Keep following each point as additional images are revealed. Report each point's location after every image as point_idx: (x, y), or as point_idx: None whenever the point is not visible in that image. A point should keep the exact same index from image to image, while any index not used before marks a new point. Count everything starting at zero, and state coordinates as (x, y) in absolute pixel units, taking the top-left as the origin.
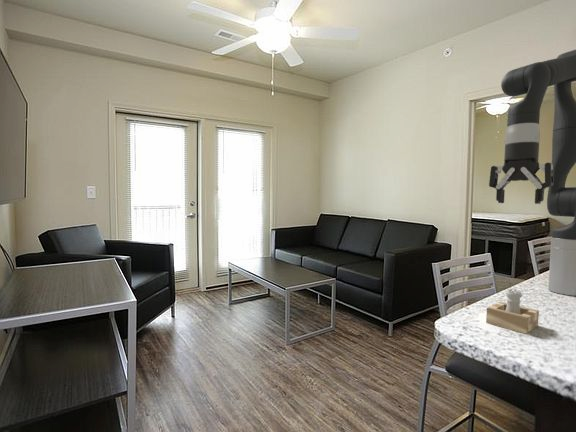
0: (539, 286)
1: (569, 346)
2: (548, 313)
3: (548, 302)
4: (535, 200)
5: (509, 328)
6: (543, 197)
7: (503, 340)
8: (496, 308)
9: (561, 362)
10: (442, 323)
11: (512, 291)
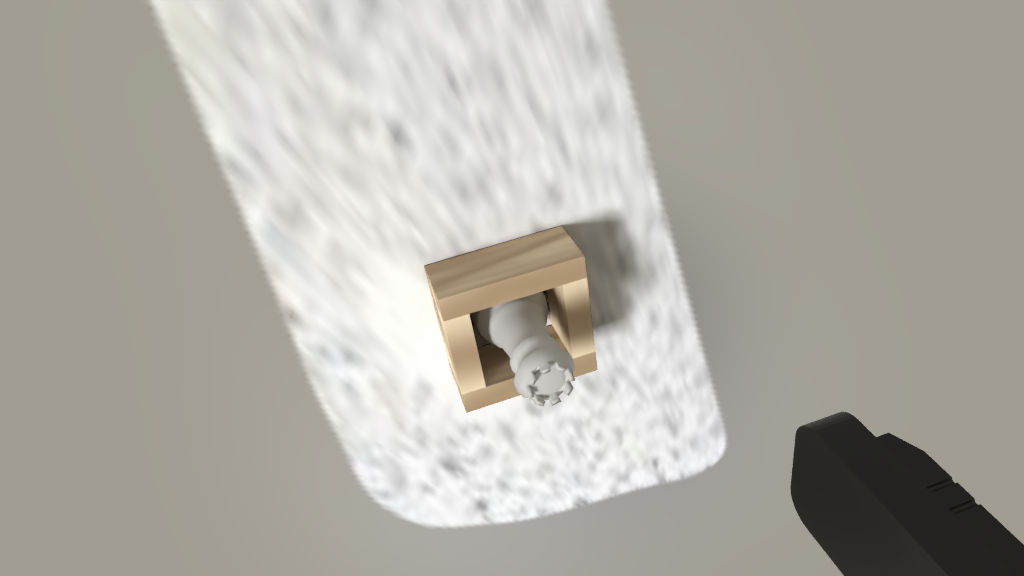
0: None
1: (684, 302)
2: (507, 2)
3: None
4: (826, 542)
5: None
6: (948, 486)
7: (565, 431)
8: (484, 381)
9: (698, 407)
10: (393, 502)
11: (555, 403)
